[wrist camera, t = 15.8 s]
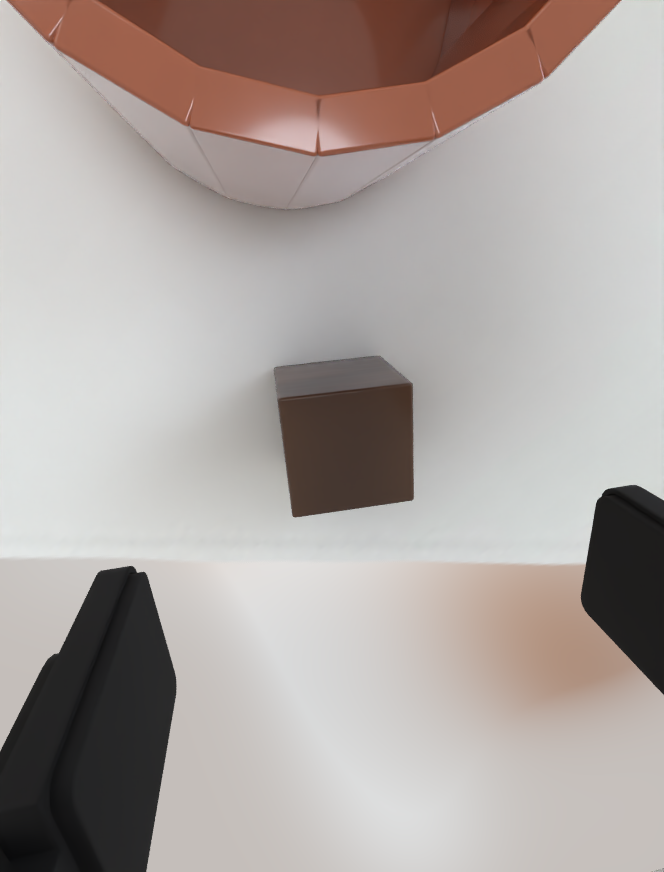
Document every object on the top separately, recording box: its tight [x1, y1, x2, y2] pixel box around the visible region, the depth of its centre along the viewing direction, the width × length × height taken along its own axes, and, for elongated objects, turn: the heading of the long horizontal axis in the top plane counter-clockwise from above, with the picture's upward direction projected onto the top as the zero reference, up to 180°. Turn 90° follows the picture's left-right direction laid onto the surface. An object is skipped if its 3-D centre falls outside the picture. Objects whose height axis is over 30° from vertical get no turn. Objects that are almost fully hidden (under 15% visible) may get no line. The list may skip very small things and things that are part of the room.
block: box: [274, 356, 414, 517], centre depth 17 cm, size 4×4×4 cm
